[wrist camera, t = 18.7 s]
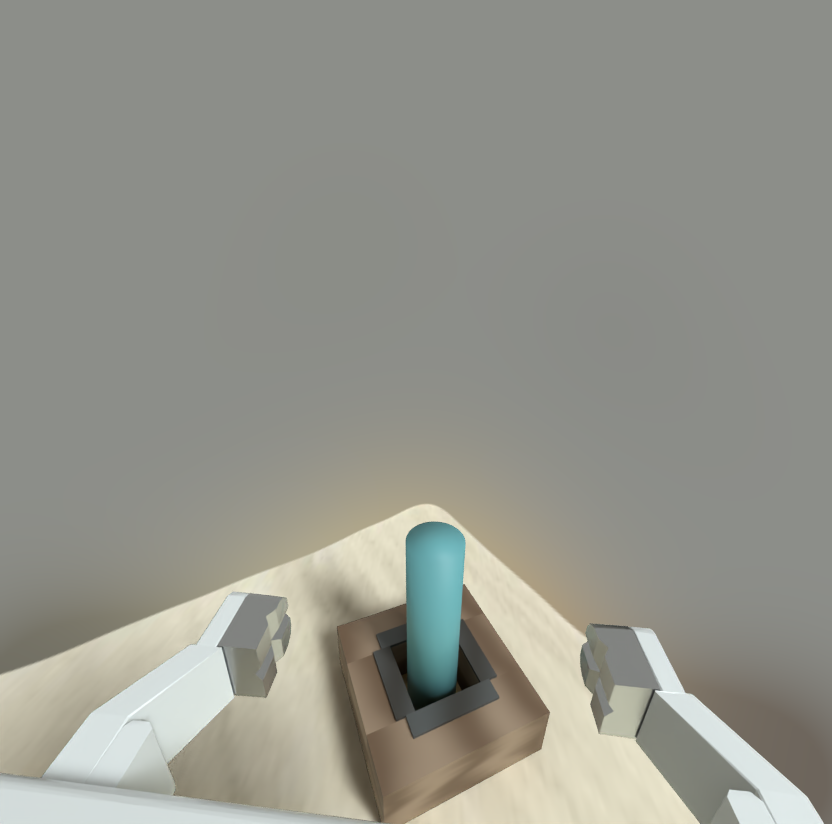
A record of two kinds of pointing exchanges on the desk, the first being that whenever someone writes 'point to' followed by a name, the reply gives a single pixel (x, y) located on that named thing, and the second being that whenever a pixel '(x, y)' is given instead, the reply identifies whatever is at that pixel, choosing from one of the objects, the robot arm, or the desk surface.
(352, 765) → the desk surface
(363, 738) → the socket block
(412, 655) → the peg
